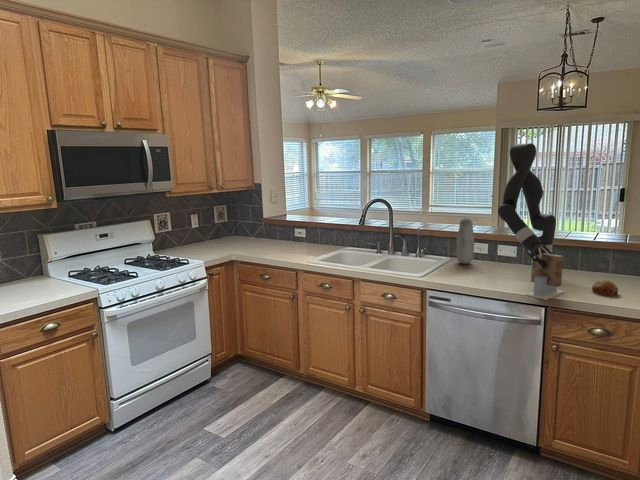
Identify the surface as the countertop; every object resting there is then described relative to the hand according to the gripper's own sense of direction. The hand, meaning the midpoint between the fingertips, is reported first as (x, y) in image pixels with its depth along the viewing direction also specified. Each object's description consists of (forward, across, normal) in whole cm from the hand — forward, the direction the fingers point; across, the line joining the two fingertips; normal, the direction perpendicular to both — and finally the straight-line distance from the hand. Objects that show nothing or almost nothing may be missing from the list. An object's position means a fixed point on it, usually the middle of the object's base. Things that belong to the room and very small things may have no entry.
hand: (550, 266), depth 197 cm
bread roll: (+21, +22, -1) cm, 31 cm away
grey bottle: (-34, +24, +54) cm, 68 cm away
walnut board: (+5, 0, +7) cm, 9 cm away
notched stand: (+9, 0, +11) cm, 14 cm away
